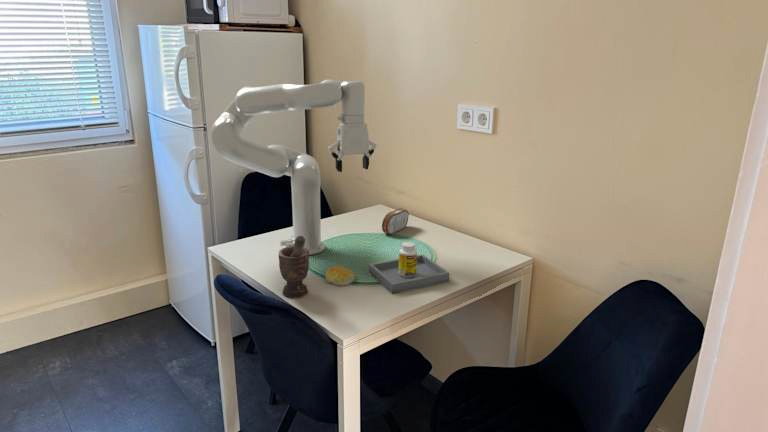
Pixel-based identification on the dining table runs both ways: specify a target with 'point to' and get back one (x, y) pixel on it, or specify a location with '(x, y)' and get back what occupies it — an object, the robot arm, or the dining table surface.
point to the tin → (395, 221)
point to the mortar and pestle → (294, 268)
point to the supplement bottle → (407, 259)
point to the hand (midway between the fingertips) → (352, 169)
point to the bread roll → (339, 276)
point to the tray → (396, 283)
